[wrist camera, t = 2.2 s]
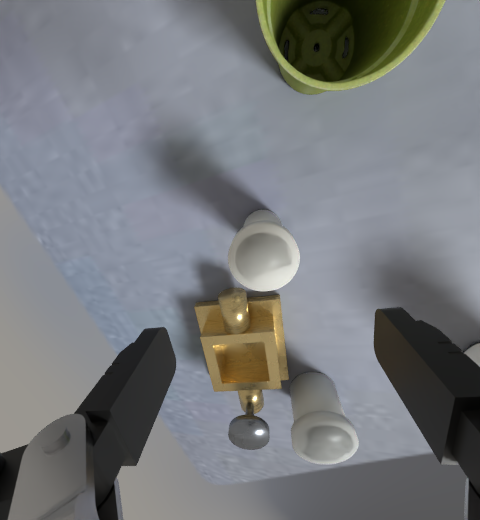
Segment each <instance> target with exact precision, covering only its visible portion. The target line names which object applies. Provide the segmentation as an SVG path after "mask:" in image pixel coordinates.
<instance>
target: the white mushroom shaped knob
mask: <svg viewBox="0 0 480 520" xmlns="http://www.w3.org/2000/svg"><path fill="white" fill-rule="evenodd" d="M299 262H300V254H299V249H298V246H297V244H296V242H295V240H294V238H293V236H292V234H291V233H290V232H289V231H288V230H287V229H286V228H285V227H284V226H282V224H281V221H280V219H279V218H278V216H277V215H276V214H275V213H273V212H271V211H269V210H257V211H254V212H253V213H251V214H250V215H249V216H248V217H247V218H246V220H245V222H244V226H243V228H241V229H240V230H239V231H238V232H237V234H236V235H235V237H234V239H233V241H232V243H231V246H230V249H229V253H228V264H229V268H230V270H231V272H232V274H233V276H234V277H235V279H236V280H237V281H238V282H239V283H241V284H242V285H243V286H245V287H247V288H249V289H252V290H256V291H272V290H276V289H278V288H281V287H282V286H284V285H286V284H287V283H288V282H289V281H290V280H291V279H292V278H293V277H294V275H295V274H296V272H297V269H298V266H299Z"/></svg>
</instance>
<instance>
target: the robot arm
mask: <svg viewBox="0 0 480 520" xmlns="http://www.w3.org/2000/svg"><path fill="white" fill-rule="evenodd" d="M374 350H375V354H376V357H377V360H378V362H379V363H380V365H381V367H382V368H383V370H384V372H385V373H386V375H387V377H388V378H389V380H390V382H391V383H392V385H393V386H394V388H395V390H396V391H397V393H398V395H399V396H400V398H401V400H402V401H403V403H404V405H405V406H406V408H407V409H408V411H409V413H410V414H411V416H412V418H413V419H414V421H415V423H416V424H417V426H418V428H419V429H420V431H421V432H422V434H423V436H424V437H425V439H426V441H427V442H428V444H429V446H430V447H431V449H432V451H433V452H434V454H435V455H436V457H437V459H438V460H439V462H440V463H441V465H460V467H461V468H462V469H463V471H464V473H465V474H466V475H467V480H466V487H465V513H464V520H480V367H479V366H478V365H477V364H476V363H475V362H474V361H473V360H472V359H471V358H470V357H468V356H467V355H466V354H463V351H462V350H461V349H460V348H458V347H457V346H456V345H455V344H452V342H451V340H450V339H449V338H447V337H446V336H445V335H444V334H443V333H442V332H441V331H440V330H439V329H437V328H435V327H433V326H431V325H429V324H427V323H425V322H424V321H422V320H420V321H415V320H414V319H413V318H412V317H411V316H410V315H409V314H408V313H407V312H406V311H405V310H404V309H403V308H401V307H397V308H385V309H377V310H376V312H375V327H374ZM175 370H176V358H175V354H174V351H173V348H172V345H171V341H170V338H169V335H168V332H167V330H166V328H164V327H160V328H148V329H144V330H143V331H142V333H141V334H140V336H139V337H138V338H137V340H136V341H135V343H131V344H130V345H129V346H128V347H126V348H125V349H124V350H123V351H121V352H120V353H119V355H118V356H117V357H116V359H115V360H114V361H113V363H112V366H110V367H109V368H108V369H107V371H106V372H105V375H103V376H102V377H101V379H100V380H99V381H98V383H97V384H96V385H95V387H94V388H93V389H92V391H91V392H90V393H89V395H88V396H87V397H86V399H85V400H84V401H83V402H82V404H81V405H80V406H79V408H78V409H77V411H76V412H75V413H74V414H70V415H66V416H63V417H61V418H59V419H57V420H55V421H53V422H52V423H50V424H49V425H47V426H46V427H45V428H44V429H43V430H41V431H40V432H39V433H38V434H37V435H36V436H35V437H34V438H33V440H32V441H31V442H30V443H29V444H28V445H25V446H22V447H19V448H16V449H13V450H10V451H7V452H4V453H0V520H123V513H122V505H121V498H120V489H119V483H118V480H117V478H116V477H117V475H118V473H119V470H120V468H121V466H136V465H137V463H138V461H139V458H140V456H141V453H142V451H143V448H144V446H145V444H146V441H147V439H148V436H149V434H150V432H151V429H152V427H153V424H154V422H155V419H156V417H157V415H158V412H159V410H160V408H161V405H162V403H163V400H164V398H165V395H166V393H167V391H168V388H169V386H170V383H171V381H172V379H173V376H174V374H175Z"/></svg>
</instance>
